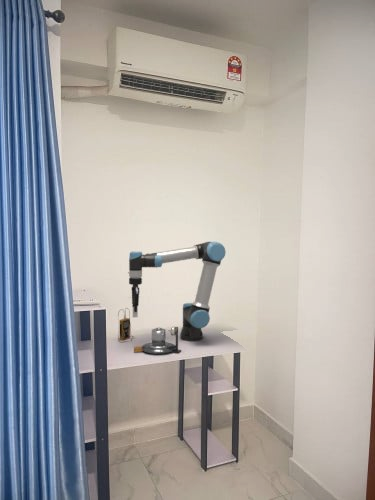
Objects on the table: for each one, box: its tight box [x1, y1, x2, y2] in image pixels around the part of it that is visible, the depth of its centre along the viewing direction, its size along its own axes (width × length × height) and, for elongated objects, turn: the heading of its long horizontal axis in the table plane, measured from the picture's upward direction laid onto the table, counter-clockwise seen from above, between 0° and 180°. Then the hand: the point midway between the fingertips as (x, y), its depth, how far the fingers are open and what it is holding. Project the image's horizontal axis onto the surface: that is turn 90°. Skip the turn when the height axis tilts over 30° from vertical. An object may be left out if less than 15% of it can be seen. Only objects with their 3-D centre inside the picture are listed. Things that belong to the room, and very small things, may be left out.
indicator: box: [167, 326, 182, 354], centre depth 211 cm, size 7×5×14 cm
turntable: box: [133, 341, 176, 355], centre depth 214 cm, size 24×20×2 cm
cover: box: [149, 327, 168, 350], centre depth 214 cm, size 11×11×11 cm
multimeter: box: [117, 307, 135, 343], centre depth 235 cm, size 15×10×20 cm
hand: (135, 317), depth 217 cm, fingers closed
